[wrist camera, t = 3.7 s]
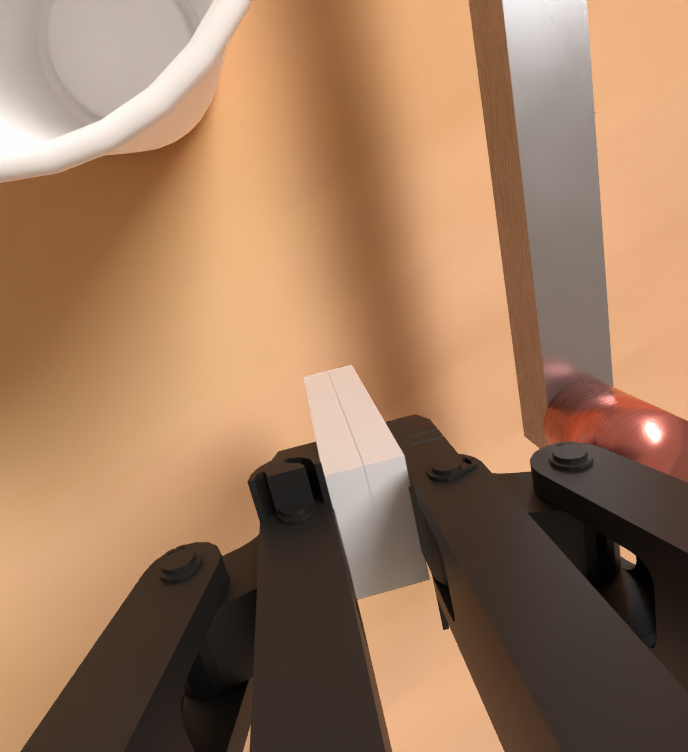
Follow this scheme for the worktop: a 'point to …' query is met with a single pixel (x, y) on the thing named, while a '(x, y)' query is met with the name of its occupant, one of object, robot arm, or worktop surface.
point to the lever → (557, 233)
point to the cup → (105, 77)
